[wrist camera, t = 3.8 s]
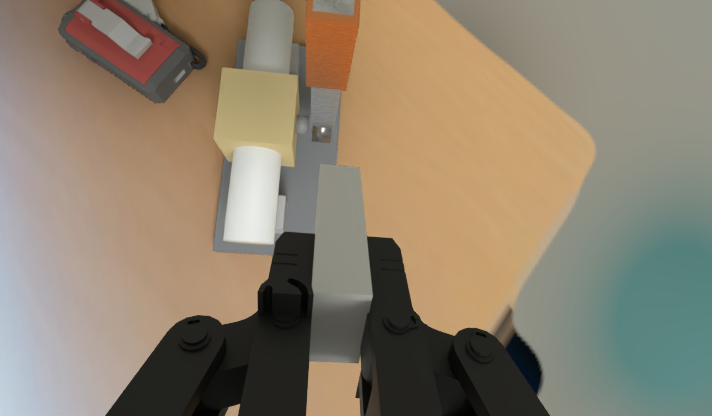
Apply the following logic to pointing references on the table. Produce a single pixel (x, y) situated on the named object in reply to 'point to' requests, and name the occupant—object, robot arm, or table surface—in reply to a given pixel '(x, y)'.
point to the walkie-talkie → (131, 44)
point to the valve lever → (328, 59)
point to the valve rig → (267, 138)
